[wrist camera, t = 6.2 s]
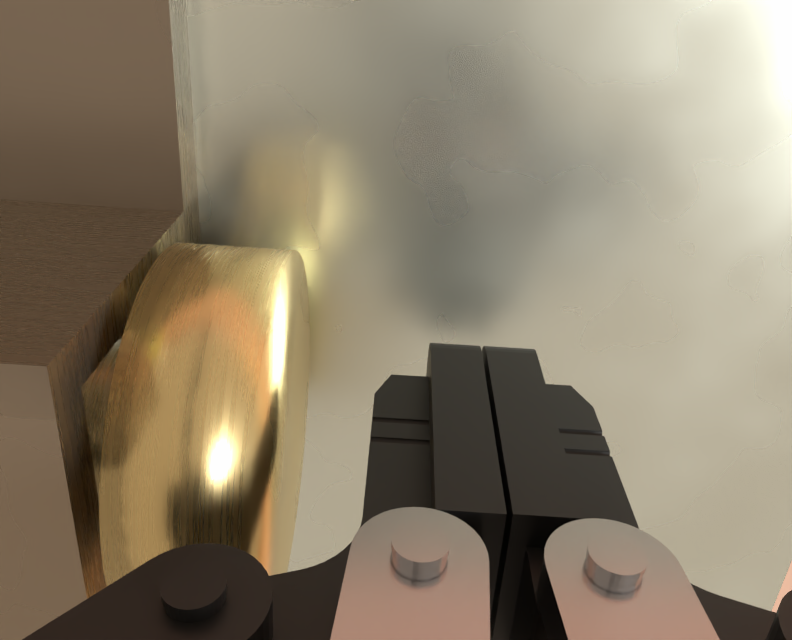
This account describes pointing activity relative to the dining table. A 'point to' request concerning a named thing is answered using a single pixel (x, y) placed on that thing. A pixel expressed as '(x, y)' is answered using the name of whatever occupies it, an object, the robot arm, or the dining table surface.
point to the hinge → (413, 238)
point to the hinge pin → (204, 408)
